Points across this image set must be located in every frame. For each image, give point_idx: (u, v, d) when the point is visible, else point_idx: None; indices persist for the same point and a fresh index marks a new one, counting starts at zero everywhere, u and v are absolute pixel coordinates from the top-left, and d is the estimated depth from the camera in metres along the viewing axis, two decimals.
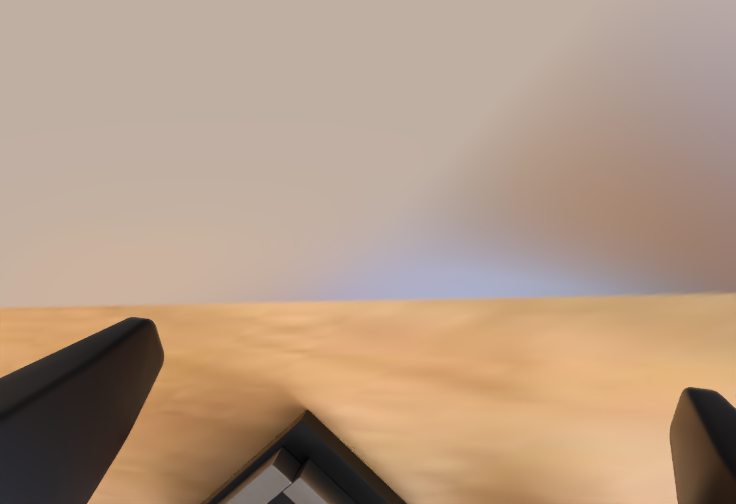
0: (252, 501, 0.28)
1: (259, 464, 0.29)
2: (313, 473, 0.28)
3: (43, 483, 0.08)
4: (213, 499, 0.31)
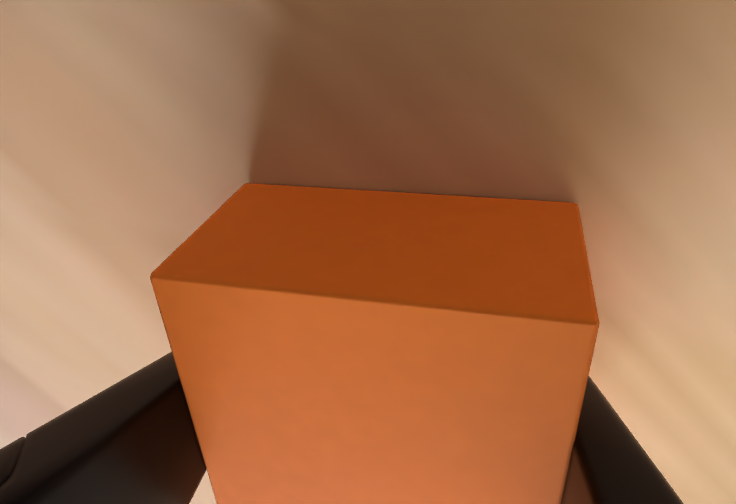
0: None
1: None
2: None
3: None
4: None
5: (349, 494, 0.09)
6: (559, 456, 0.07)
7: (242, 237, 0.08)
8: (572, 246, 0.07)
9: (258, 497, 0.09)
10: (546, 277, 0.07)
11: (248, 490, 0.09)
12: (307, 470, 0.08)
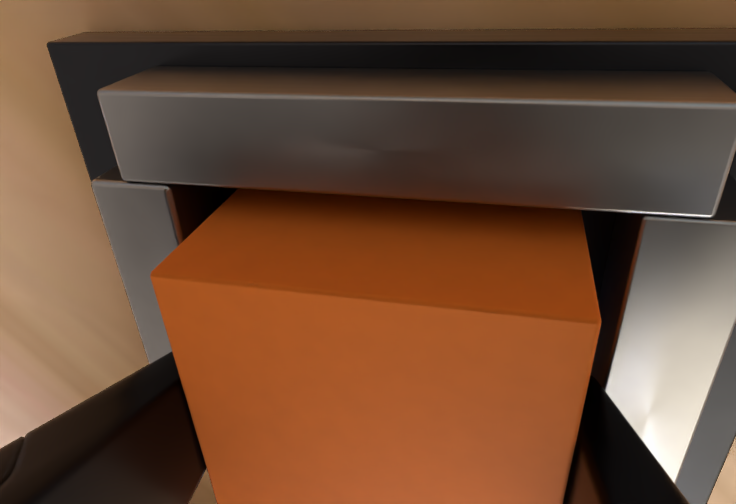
0: (496, 164, 0.07)
1: (555, 65, 0.07)
2: None
3: None
4: (272, 47, 0.08)
5: (350, 494, 0.08)
6: (560, 455, 0.07)
7: (242, 235, 0.08)
8: (574, 244, 0.07)
9: (258, 496, 0.09)
10: (549, 276, 0.07)
11: (248, 489, 0.09)
12: (307, 469, 0.08)
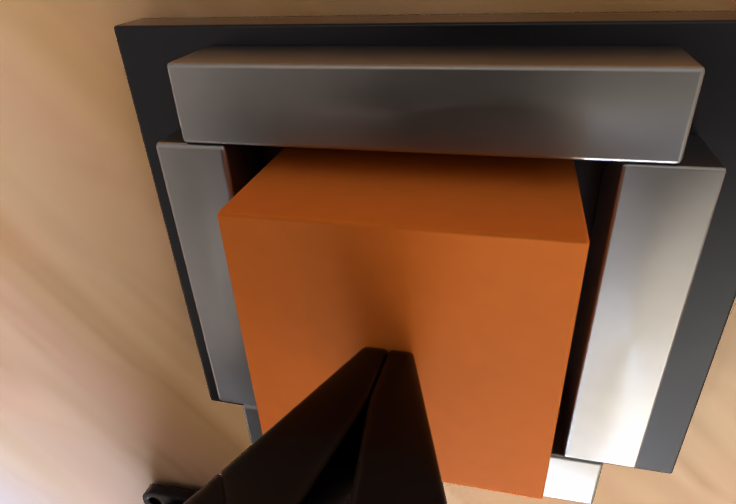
0: (503, 122, 0.08)
1: (551, 41, 0.09)
2: None
3: None
4: (311, 28, 0.10)
5: None
6: (557, 362, 0.08)
7: (290, 186, 0.09)
8: (568, 190, 0.09)
9: None
10: (547, 211, 0.08)
11: (289, 410, 0.11)
12: None
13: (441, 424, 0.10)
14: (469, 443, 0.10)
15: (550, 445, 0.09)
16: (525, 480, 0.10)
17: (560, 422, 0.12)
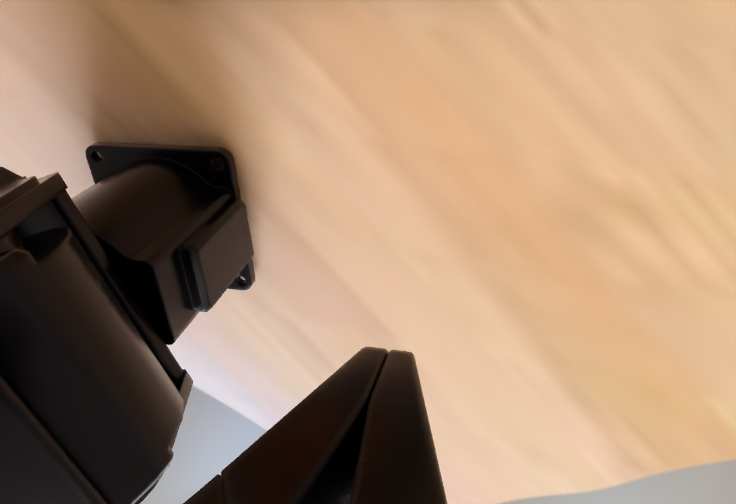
0: None
1: None
2: None
3: None
4: None
5: None
6: None
7: None
8: None
9: None
10: None
11: None
12: None
13: None
14: None
15: None
16: None
17: None
